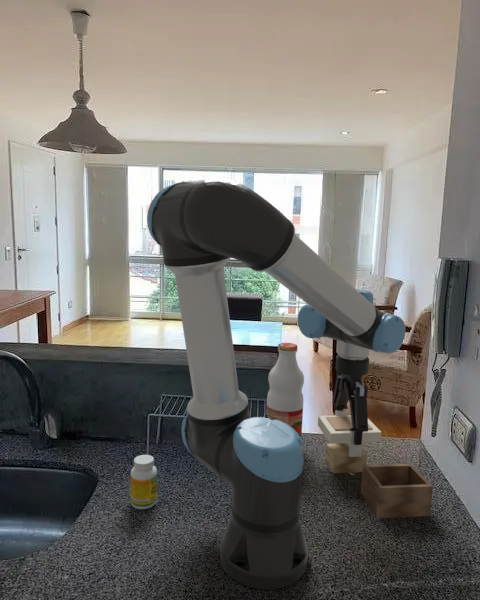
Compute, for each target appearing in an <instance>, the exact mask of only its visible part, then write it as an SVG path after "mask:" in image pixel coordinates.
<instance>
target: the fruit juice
mask: <svg viewBox="0 0 480 600" xmlns="http://www.w3.org/2000/svg"><path fill="white" fill-rule="evenodd" d="M277 351H278V356H277V361H276V363H275V365H274V366H273V367H272V368H271V370H270V371H269V373H268V378H267V380H268V384H269V389H268V392H267V397H266V410H265V411H266V413H265V415H267V417H268V418H270V420H275V419H276V420H279V421H282V422H284V423H286V424H288V425H289V426H291V427H292V428H293V429H294V430H295V431H296V432H297V433H298V434H299V436H300V438H301V439H302V433H303V415H304V414H303V413H304V395H303V392H302V389H303V387H304V384H305V376H304V373H303V370H301V368H300V366H299V364H298V362H297V352H298V344H296V343H293V342H280V343H279V344H278V345H277Z"/></svg>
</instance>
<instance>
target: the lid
mask: <svg viewBox="0 0 480 600" xmlns="http://www.w3.org/2000/svg"><path fill="white" fill-rule="evenodd" d="M317 419H318V420H317V426H318V427H319V429H320V430H321V432H322V433H323V435H324V436H325V438H326V439H327V441H328V442H329V444H334V443H350V428H352V419H351V414H347V415H334V414H333V415H318V417H317ZM381 441H382V431H381V430H380V429H379V428H378V427H377V426H376V425H375V424H374V422H372V420H370V418H368V431H367V432H363V440H362V444H363V443H381Z"/></svg>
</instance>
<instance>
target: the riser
mask: <svg viewBox="0 0 480 600" xmlns="http://www.w3.org/2000/svg"><path fill="white" fill-rule="evenodd" d="M349 445H350V443H331V444H330V443H326V446H325V458H324V459H325V460H324V461H325V463H326V464H327V466H328V468H329V469H330V471H331V472H332V474H350V473H362V472H363V465H367V461H368V460H367V459H368V458H367V457H368V454H367V453H366V451H365V450H364V449H363V448H362V454H361V457H350V456H349Z"/></svg>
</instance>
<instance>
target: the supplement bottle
mask: <svg viewBox="0 0 480 600" xmlns="http://www.w3.org/2000/svg"><path fill="white" fill-rule="evenodd" d="M157 501H158V469H157V467H156V466H155V458H154V457H153V456H152V455H150V454H140V455H137V456H136V457H134V458H133V467H132V469H131V470H130V505H131V506H132V507H133V508H134V509H137V510H146V509H150V508H152V507H154V505H156V503H157Z"/></svg>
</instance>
